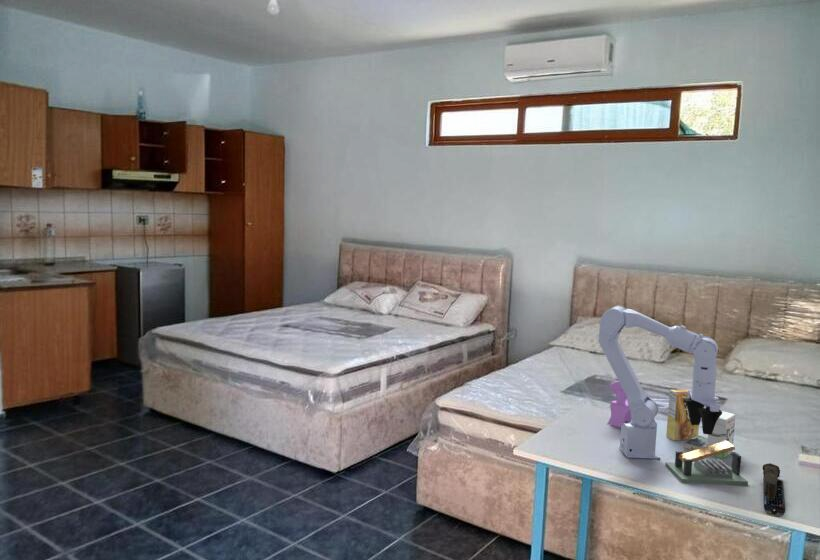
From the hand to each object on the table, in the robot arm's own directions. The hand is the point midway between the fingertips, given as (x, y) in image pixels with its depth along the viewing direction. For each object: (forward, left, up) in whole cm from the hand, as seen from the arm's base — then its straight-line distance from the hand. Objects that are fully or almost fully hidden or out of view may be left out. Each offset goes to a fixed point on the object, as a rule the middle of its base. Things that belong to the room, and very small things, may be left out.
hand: (701, 429), depth 168 cm
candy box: (+5, +22, -11) cm, 25 cm away
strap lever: (-1, -7, -5) cm, 8 cm away
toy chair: (-10, +34, -11) cm, 37 cm away
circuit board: (-1, -7, -10) cm, 13 cm away
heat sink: (-1, -7, -9) cm, 12 cm away
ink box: (+11, +10, -11) cm, 18 cm away
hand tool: (+12, -14, -11) cm, 22 cm away
